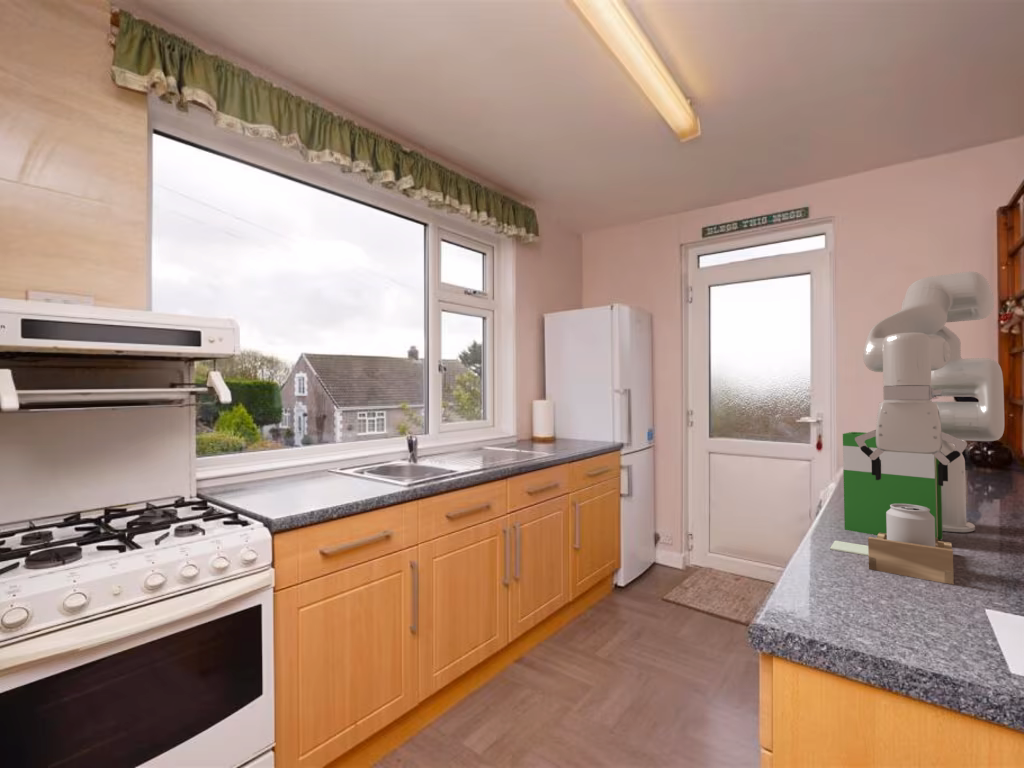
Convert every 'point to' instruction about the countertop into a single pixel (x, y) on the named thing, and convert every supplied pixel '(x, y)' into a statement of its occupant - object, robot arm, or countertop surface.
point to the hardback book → (887, 486)
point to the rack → (911, 559)
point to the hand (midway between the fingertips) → (908, 482)
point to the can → (910, 524)
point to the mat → (850, 548)
